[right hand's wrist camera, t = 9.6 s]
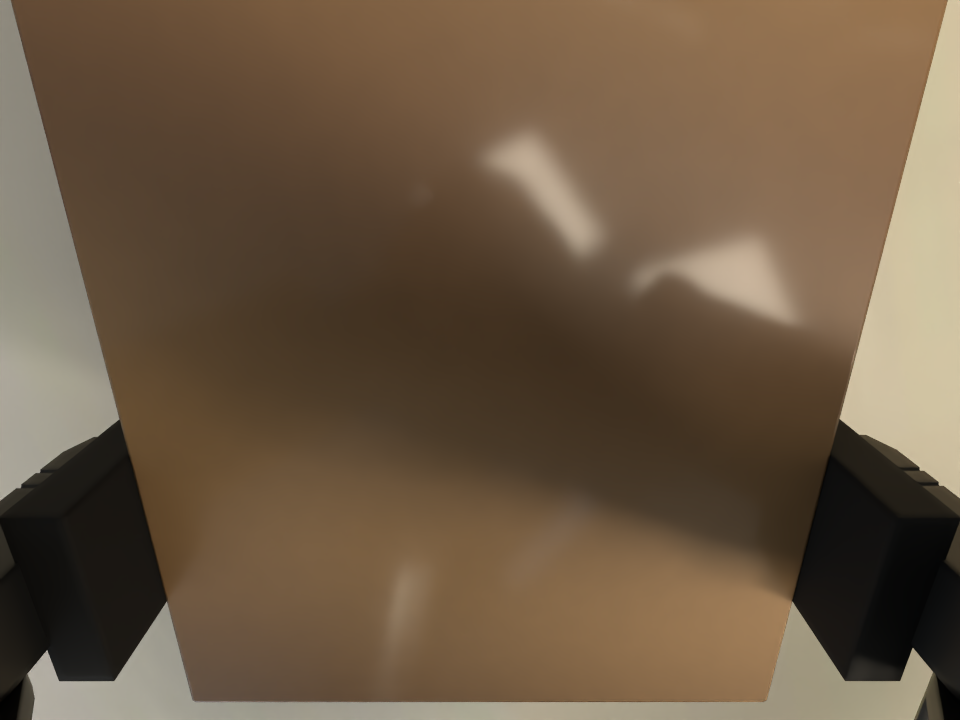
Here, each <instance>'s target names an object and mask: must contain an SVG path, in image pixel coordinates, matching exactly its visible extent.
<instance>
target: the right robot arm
mask: <svg viewBox="0 0 960 720" xmlns="http://www.w3.org/2000/svg"><path fill="white" fill-rule="evenodd" d="M938 483H939V482H938V481H936V480H935V479H934V478H933V477H931V476H930V475H929V474H927V473H926V472H925V471H920V470H919V467H918V466H917V465H916V464H914V463H913V462H912V461H910V460H909V459H908V458H907V457H905V456H904V455H903V454H901V453H900V452H899V451H898V450H896V449H894V448H892V447H890V446H888V445H886V444H883V443H881V442H879V441H877V440H875V439H873V438H871V437H869V436H867V435H859V434H857V433H856V432H855V431H854V430H852V429H851V428H850V427H849V426H847V425H846V424H845V423H844V422H842V421H841V420H840V419H839V422H838V426H837V430H836V434H835V438H834V442H833V445H832V449H831V453H830V457H829V461H828V465H827V469H826V473H825V476H824V480H823V484H822V488H821V492H820V496H819V500H818V503H817V507H816V511H815V515H814V519H813V523H812V527H811V530H810V534H809V538H808V542H807V546H806V550H805V554H804V558H803V561H802V565H801V569H800V573H799V577H798V581H797V585H796V588H795V592H794V596H793V600H792V601H793V603H794V604H795V606H796V607H797V609H798V610H799V612H800V613H801V615H802V616H803V618H804V619H805V621H806V622H807V624H808V625H809V627H810V628H811V630H812V631H813V633H814V635H815V636H816V638H817V639H818V641H819V642H820V644H821V645H822V647H823V648H824V650H825V651H826V653H827V654H828V656H829V657H830V659H831V660H832V662H833V663H834V665H835V666H836V668H837V669H838V671H839V672H840V674H841V675H842V677H843V678H844V680H845V681H900V680H901V677H902V674H903V672H904V669H905V666H906V664H907V661H908V658H909V656H910V653H911V650H912V648H914V649H915V650H916V652H917V653H918V654H919V655H920V656H921V658H922V659H923V660H924V661H925V662H926V664H927V665H928V666H929V667H930V668H931V670H932V671H933V674H932V677H931V679H930V682H929V684H928V687H927V689H926V692H925V694H924V697H923V699H922V702H921V704H920V706H919V709H918V711H917V714H916V716H915V719H914V720H960V498H958V497H957V496H956V495H955V494H953V493H952V492H951V491H949V490H948V489H947V488H945V487H944V486H939V484H938ZM21 485H22V486H21V488H16V489H15V490H14V491H12V492H11V493H10V494H9V495H7V496H6V497H5V498H3V499H2V500H1V501H0V720H32V713H33V706H34V699H35V698H34V692H33V687H32V684H31V682H30V679H29V677H28V674H27V673H28V672H29V671H30V670H31V669H32V667H33V666H34V665H35V664H36V663H37V661H38V660H39V659H40V658H41V657H42V655H43V654H44V653H45V652H46V651H47V650H48V653H49V655H50V658H51V661H52V663H53V666H54V669H55V671H56V674H57V677H58V679H59V681H114V680H115V679H116V677H117V676H118V674H119V673H120V671H121V670H122V668H123V667H124V665H125V664H126V662H127V661H128V659H129V658H130V656H131V655H132V653H133V652H134V650H135V649H136V647H137V646H138V644H139V643H140V641H141V640H142V638H143V637H144V635H145V634H146V632H147V631H148V629H149V628H150V626H151V624H152V623H153V621H154V620H155V618H156V617H157V615H158V614H159V612H160V611H161V609H162V608H163V606H164V605H165V603H166V602H167V599H166V595H165V592H164V588H163V584H162V580H161V576H160V572H159V569H158V565H157V561H156V557H155V553H154V549H153V545H152V542H151V538H150V534H149V530H148V526H147V522H146V519H145V515H144V511H143V507H142V503H141V499H140V495H139V492H138V488H137V484H136V480H135V476H134V472H133V468H132V465H131V461H130V457H129V453H128V449H127V445H126V442H125V438H124V434H123V430H122V426H121V422H120V419H119V420H118V421H117V422H116V423H114V424H113V425H112V426H111V427H109V428H108V429H107V430H106V431H105V432H103V433H102V434H101V435H100V436H98V437H93V438H91V439H89V440H87V441H85V442H83V443H81V444H79V445H77V446H75V447H73V448H71V449H68V450H66V451H64V452H63V453H61V454H60V455H59V456H57V457H56V458H55V459H54V460H52V461H51V462H50V463H48V464H47V465H46V466H45V467H43V468H42V469H41V472H40V473H36V474H34V475H33V476H32V477H30V478H29V479H28V480H27V481H25V482H24V483H23V484H21Z"/></svg>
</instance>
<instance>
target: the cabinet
mask: <svg viewBox="0 0 960 720" xmlns="http://www.w3.org/2000/svg"><path fill="white" fill-rule="evenodd" d="M947 1H948V0H11V3H12V7H13V11H14V14H15V18H16V22H17V26H18V30H19V34H20V37H21V41H22V45H23V49H24V53H25V57H26V61H27V64H28V68H29V72H30V76H31V80H32V84H33V87H34V91H35V95H36V99H37V103H38V107H39V111H40V114H41V118H42V122H43V126H44V130H45V134H46V138H47V141H48V145H49V149H50V153H51V157H52V161H53V164H54V168H55V172H56V176H57V180H58V184H59V188H60V191H61V195H62V199H63V203H64V207H65V211H66V214H67V218H68V222H69V226H70V230H71V234H72V238H73V241H74V245H75V249H76V253H77V257H78V261H79V265H80V268H81V272H82V276H83V280H84V284H85V288H86V291H87V295H88V299H89V303H90V307H91V311H92V315H93V318H94V322H95V326H96V330H97V334H98V338H99V341H100V345H101V349H102V353H103V357H104V361H105V365H106V368H107V372H108V376H109V380H110V384H111V388H112V392H113V395H114V399H115V403H116V407H117V411H118V415H119V418H120V422H121V426H122V430H123V434H124V438H125V442H126V445H127V449H128V453H129V457H130V461H131V465H132V468H133V472H134V476H135V480H136V484H137V488H138V492H139V495H140V499H141V503H142V507H143V511H144V515H145V519H146V522H147V526H148V530H149V534H150V538H151V542H152V545H153V549H154V553H155V557H156V561H157V565H158V569H159V572H160V576H161V580H162V584H163V588H164V592H165V595H166V599H167V603H168V607H169V611H170V615H171V619H172V622H173V626H174V630H175V634H176V638H177V642H178V646H179V649H180V653H181V657H182V661H183V665H184V669H185V672H186V676H187V680H188V684H189V688H190V692H191V696H192V699H193V701H195V702H764V701H766V700H767V697H768V693H769V689H770V685H771V681H772V677H773V673H774V670H775V666H776V662H777V658H778V654H779V650H780V646H781V643H782V639H783V635H784V631H785V627H786V623H787V619H788V615H789V612H790V608H791V604H792V600H793V596H794V592H795V588H796V585H797V581H798V577H799V573H800V569H801V565H802V561H803V558H804V554H805V550H806V546H807V542H808V538H809V534H810V530H811V527H812V523H813V519H814V515H815V511H816V507H817V503H818V500H819V496H820V492H821V488H822V484H823V480H824V476H825V473H826V469H827V465H828V461H829V457H830V453H831V449H832V445H833V442H834V438H835V434H836V430H837V426H838V422H839V418H840V415H841V411H842V407H843V403H844V399H845V395H846V391H847V388H848V384H849V380H850V376H851V372H852V368H853V364H854V360H855V357H856V353H857V349H858V345H859V341H860V337H861V333H862V330H863V326H864V322H865V318H866V314H867V310H868V306H869V303H870V299H871V295H872V291H873V287H874V283H875V279H876V275H877V272H878V268H879V264H880V260H881V256H882V252H883V248H884V245H885V241H886V237H887V233H888V229H889V225H890V221H891V218H892V214H893V210H894V206H895V202H896V198H897V194H898V190H899V187H900V183H901V179H902V175H903V171H904V167H905V163H906V160H907V156H908V152H909V148H910V144H911V140H912V136H913V132H914V129H915V125H916V121H917V117H918V113H919V109H920V105H921V102H922V98H923V94H924V90H925V86H926V82H927V78H928V75H929V71H930V67H931V63H932V59H933V55H934V51H935V47H936V44H937V40H938V36H939V32H940V28H941V24H942V20H943V17H944V13H945V9H946V5H947Z"/></svg>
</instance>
